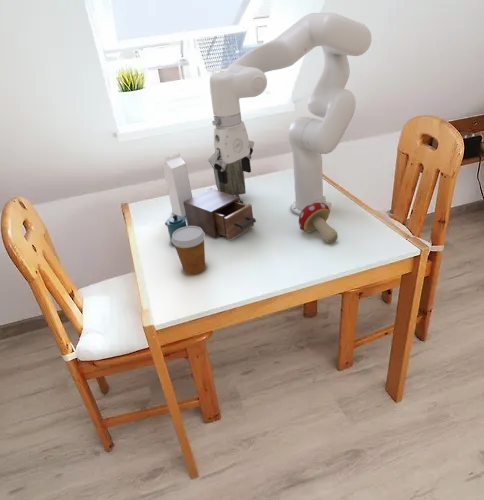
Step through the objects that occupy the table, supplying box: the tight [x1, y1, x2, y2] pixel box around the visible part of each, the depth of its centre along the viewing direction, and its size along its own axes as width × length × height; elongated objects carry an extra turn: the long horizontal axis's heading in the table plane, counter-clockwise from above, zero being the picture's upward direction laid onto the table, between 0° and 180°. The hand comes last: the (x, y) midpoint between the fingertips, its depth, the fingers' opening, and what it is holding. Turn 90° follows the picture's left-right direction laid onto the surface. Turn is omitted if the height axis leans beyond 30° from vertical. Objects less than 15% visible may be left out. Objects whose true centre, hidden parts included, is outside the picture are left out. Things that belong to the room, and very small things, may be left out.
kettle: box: [164, 214, 188, 247], centre depth 141 cm, size 11×6×10 cm, turn 47°
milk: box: [162, 152, 193, 218], centre depth 156 cm, size 6×6×22 cm
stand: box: [183, 187, 240, 239], centre depth 149 cm, size 14×13×10 cm
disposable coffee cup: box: [170, 225, 206, 276], centre depth 126 cm, size 10×10×12 cm
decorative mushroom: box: [298, 202, 339, 244], centre depth 136 cm, size 11×11×15 cm
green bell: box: [212, 159, 247, 204], centre depth 160 cm, size 14×9×25 cm, turn 13°
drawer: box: [213, 201, 257, 241], centre depth 144 cm, size 17×11×8 cm
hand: (235, 177), depth 132 cm, fingers open, 9 cm apart
